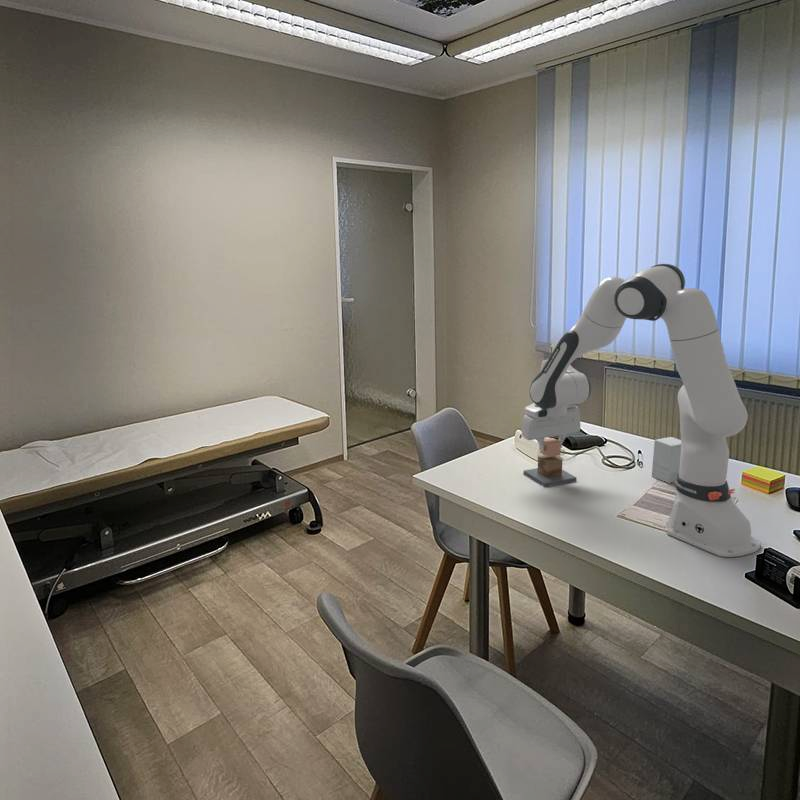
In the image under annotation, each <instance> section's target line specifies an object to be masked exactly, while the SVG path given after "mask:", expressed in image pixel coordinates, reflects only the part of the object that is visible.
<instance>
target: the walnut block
mask: <svg viewBox="0 0 800 800" xmlns="http://www.w3.org/2000/svg"><path fill="white" fill-rule="evenodd" d="M563 461H564V459H563V458H561V457H559V456H552V457H548V456H546V455H544V454H543V455H539V456H537V468H538V473H540V474H541V475H543V476H545V477H546V478H550V477H556V476H561V475H562V470H563Z"/></svg>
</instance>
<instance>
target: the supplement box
mask: <svg viewBox="0 0 800 800" xmlns="http://www.w3.org/2000/svg"><path fill="white" fill-rule="evenodd" d="M652 454H653V455H652V456H653V457H652V465H651V466H652V467H651V469H652V470H651V477H652V476H653V477H652V478H655V479H657V480H659V479H660V481H661V480H662V482H664V481H665V482H664V483H666V482H667V483H666V484H668V483H669V484H672V483H671V482H674V483H676V479H677V475H678V474H679V468H680V458H681V439H678V438H676V437H673V436H669V437H663V438H657V439H654V444H653V453H652Z"/></svg>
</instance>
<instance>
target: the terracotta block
mask: <svg viewBox="0 0 800 800" xmlns="http://www.w3.org/2000/svg"><path fill="white" fill-rule="evenodd" d="M542 442H543V444H544V445H546V450H545V451H541V450H540V449H539V450H540V452H539V453H540V454H541V455H543V456H544V455H546V456H548V457H552V456H557V457H559V456H561V450H562V448H561V441H559V440H558V439H556V438H554V437H548V438H544V441H542Z"/></svg>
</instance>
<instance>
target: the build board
mask: <svg viewBox="0 0 800 800" xmlns="http://www.w3.org/2000/svg"><path fill="white" fill-rule="evenodd" d="M523 475H525V476H526V477H528V478H529V479H531V480H533V481H535V482H536V483H537V482H538V483H537V484H539V485H541V486H542V485H543V487H544V488H545V486H547V487H551V486H550V485H552V486H556V485H561V483H563V484H567V483H566V482H568V483H572V482H571V481H573V482H577V476H575V475H573V474H572V473H569V472H567V471H565V470H563V469H562V475H561V476H556V477H550V478H546V477H545V476H543V475H541V474H540V473H538V467H537V468H531V469H525V470H523Z"/></svg>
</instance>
